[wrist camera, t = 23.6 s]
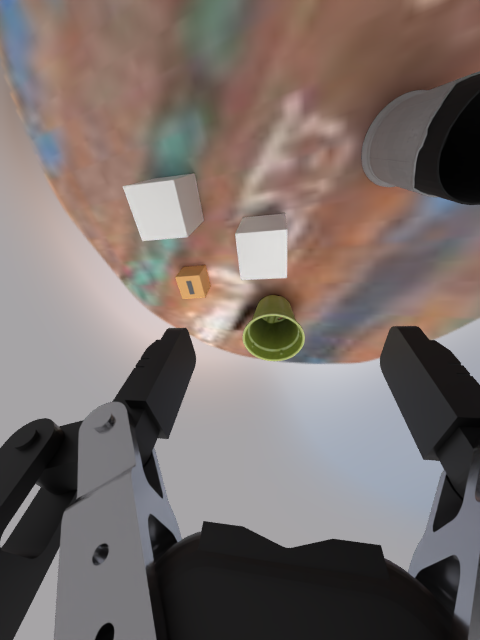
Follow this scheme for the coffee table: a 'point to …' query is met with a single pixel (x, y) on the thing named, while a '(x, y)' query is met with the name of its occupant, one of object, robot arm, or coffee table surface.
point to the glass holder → (429, 142)
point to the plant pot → (273, 331)
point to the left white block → (165, 206)
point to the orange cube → (193, 282)
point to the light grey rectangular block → (262, 247)
